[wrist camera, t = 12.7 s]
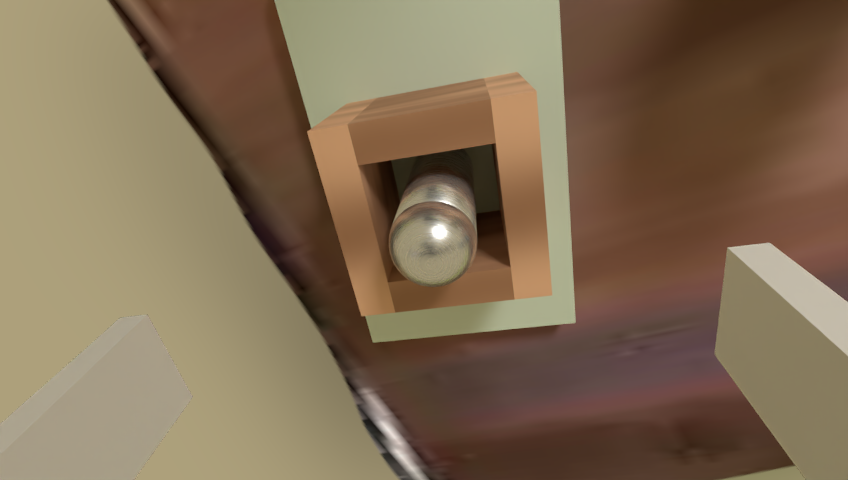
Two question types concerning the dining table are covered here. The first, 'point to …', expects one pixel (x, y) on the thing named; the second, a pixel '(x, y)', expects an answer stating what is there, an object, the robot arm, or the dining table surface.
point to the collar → (425, 134)
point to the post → (436, 220)
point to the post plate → (432, 67)
